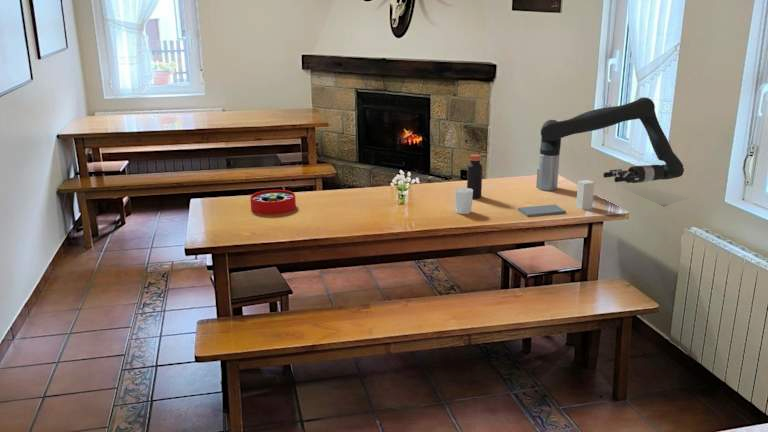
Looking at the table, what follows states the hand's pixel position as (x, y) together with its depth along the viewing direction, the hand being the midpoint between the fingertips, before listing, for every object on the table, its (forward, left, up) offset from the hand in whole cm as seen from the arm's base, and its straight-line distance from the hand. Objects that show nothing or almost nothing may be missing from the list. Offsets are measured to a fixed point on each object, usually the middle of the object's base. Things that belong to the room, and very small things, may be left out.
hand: (609, 177), depth 305 cm
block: (-4, -11, -13) cm, 17 cm away
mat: (-12, -30, -13) cm, 34 cm away
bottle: (-47, -37, -13) cm, 61 cm away
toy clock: (-92, -119, -14) cm, 151 cm away
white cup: (-33, -57, -13) cm, 67 cm away
